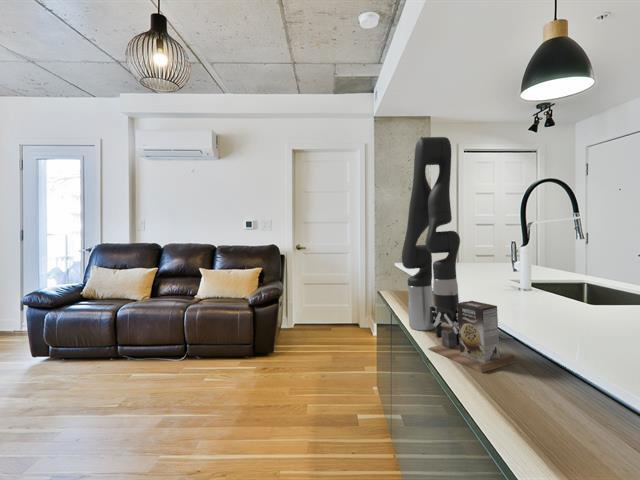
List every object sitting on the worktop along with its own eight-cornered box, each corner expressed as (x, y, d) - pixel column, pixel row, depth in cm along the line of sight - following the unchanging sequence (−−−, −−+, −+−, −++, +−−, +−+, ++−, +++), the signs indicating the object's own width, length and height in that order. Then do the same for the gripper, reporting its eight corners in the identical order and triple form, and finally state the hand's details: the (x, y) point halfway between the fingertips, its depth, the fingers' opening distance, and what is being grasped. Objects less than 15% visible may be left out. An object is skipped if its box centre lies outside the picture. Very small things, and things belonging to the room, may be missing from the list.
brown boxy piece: (459, 355, 99) (455, 303, 99) (474, 351, 102) (471, 299, 102) (485, 366, 91) (481, 308, 91) (501, 360, 93) (497, 304, 93)
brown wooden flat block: (428, 349, 108) (427, 332, 107) (458, 341, 112) (457, 326, 112) (481, 372, 88) (480, 352, 88) (515, 362, 93) (514, 343, 93)
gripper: (422, 290, 112) (425, 337, 113) (453, 296, 99) (456, 349, 100) (439, 287, 115) (442, 333, 116) (471, 293, 102) (475, 345, 102)
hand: (448, 340), depth 108 cm, fingers open, 8 cm apart
